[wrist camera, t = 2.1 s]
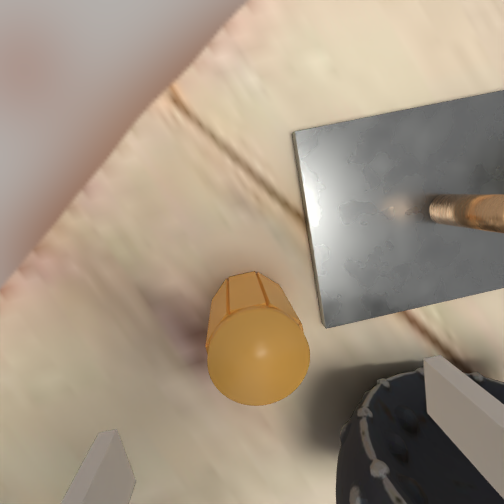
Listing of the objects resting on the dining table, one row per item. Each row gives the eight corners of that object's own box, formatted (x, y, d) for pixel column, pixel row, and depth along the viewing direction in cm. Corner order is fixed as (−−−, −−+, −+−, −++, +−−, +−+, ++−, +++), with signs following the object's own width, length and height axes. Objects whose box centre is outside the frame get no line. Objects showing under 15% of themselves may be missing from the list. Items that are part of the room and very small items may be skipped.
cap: (222, 346, 25) (220, 415, 17) (206, 281, 24) (196, 325, 16) (289, 330, 25) (317, 392, 18) (276, 266, 24) (301, 302, 16)
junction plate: (322, 323, 26) (357, 371, 19) (291, 134, 22) (321, 108, 15) (554, 270, 26) (667, 297, 20) (559, 81, 23) (700, 34, 16)
